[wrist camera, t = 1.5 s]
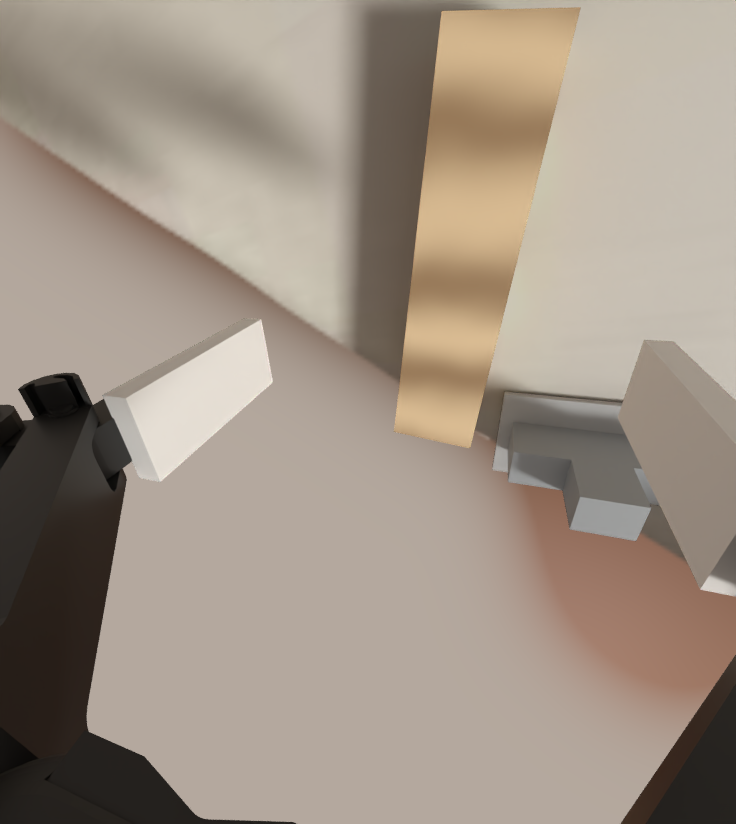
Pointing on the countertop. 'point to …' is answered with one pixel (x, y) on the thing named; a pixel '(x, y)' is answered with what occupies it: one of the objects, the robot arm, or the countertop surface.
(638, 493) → the bracket
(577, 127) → the countertop surface
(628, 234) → the countertop surface
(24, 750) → the robot arm
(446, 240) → the beam
